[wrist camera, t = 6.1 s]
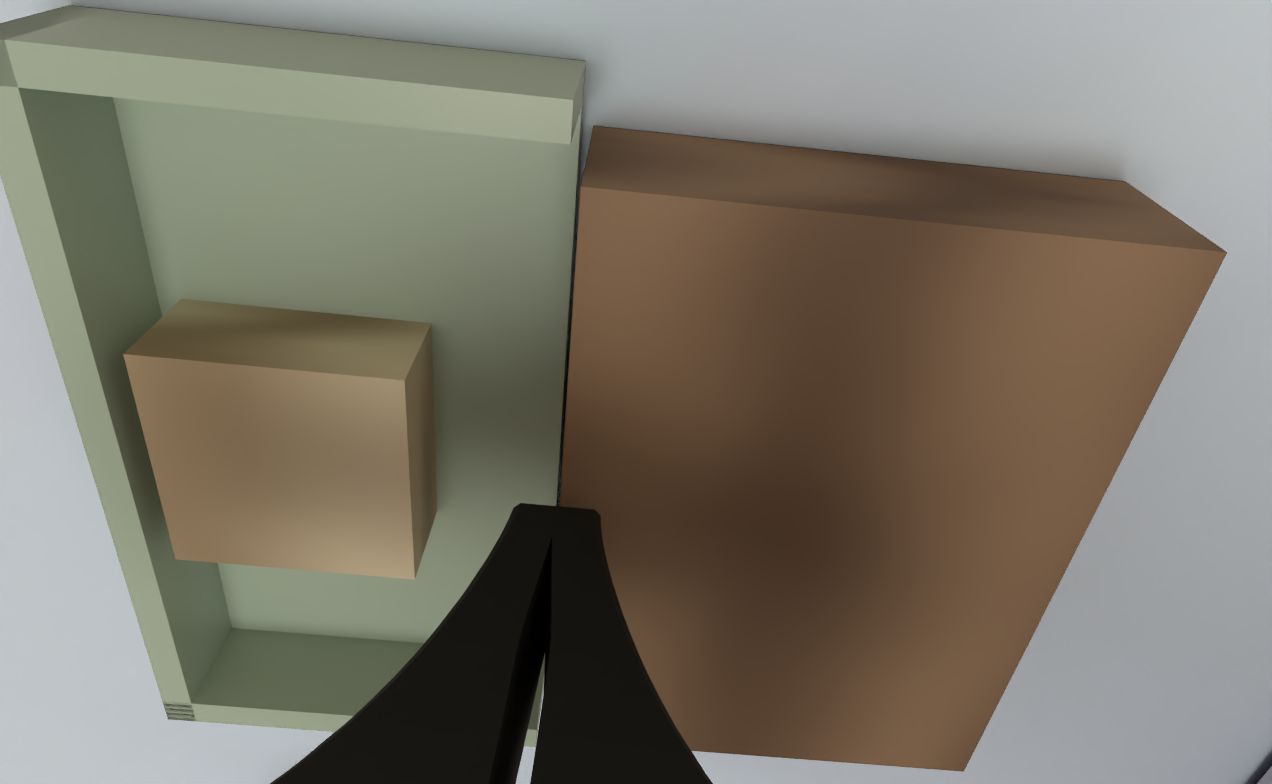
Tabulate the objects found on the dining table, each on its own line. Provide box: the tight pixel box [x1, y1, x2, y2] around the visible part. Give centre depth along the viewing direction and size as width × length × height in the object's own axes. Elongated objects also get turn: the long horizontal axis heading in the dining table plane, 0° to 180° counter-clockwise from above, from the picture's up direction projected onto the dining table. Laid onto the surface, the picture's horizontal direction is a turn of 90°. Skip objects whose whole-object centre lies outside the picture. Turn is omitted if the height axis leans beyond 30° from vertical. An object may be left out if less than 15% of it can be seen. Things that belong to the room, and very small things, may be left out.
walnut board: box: [560, 126, 1227, 771], centre depth 16 cm, size 9×12×3 cm
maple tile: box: [123, 299, 437, 580], centre depth 16 cm, size 4×4×2 cm
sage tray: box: [0, 5, 586, 747], centre depth 16 cm, size 8×14×2 cm, turn 174°
